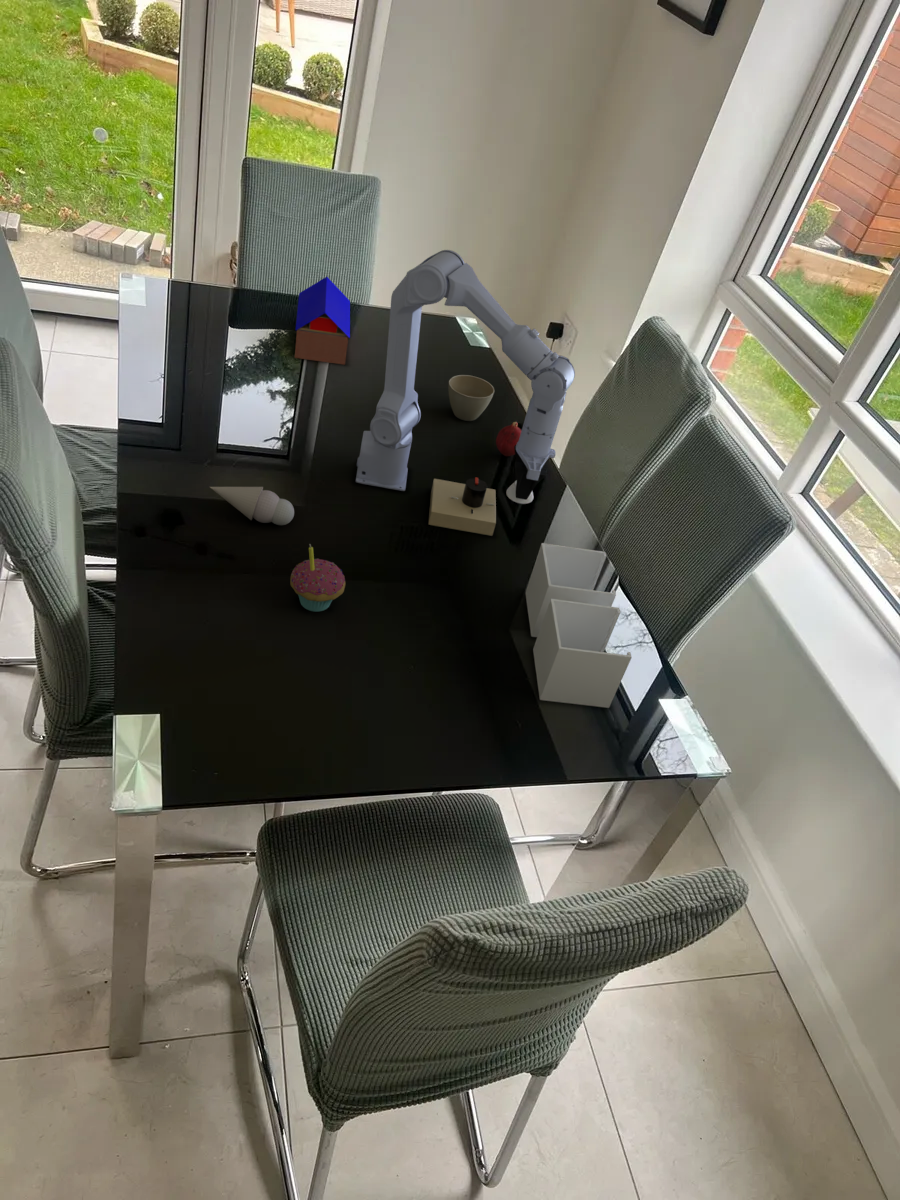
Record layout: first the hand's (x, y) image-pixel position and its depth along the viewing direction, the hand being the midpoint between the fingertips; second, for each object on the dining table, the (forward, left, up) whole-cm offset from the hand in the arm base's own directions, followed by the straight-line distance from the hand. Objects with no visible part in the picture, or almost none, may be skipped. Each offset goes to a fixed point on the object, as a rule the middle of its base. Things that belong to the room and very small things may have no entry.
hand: (520, 491), depth 166 cm
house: (-44, +61, -8) cm, 76 cm away
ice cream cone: (-46, -11, -8) cm, 48 cm away
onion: (0, +25, -8) cm, 27 cm away
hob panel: (-9, +2, -8) cm, 13 cm away
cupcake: (-32, -30, -8) cm, 45 cm away
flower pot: (-9, +39, -8) cm, 41 cm away
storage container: (+9, -31, -8) cm, 33 cm away
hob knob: (-8, +2, -5) cm, 10 cm away
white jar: (0, 0, -2) cm, 2 cm away
